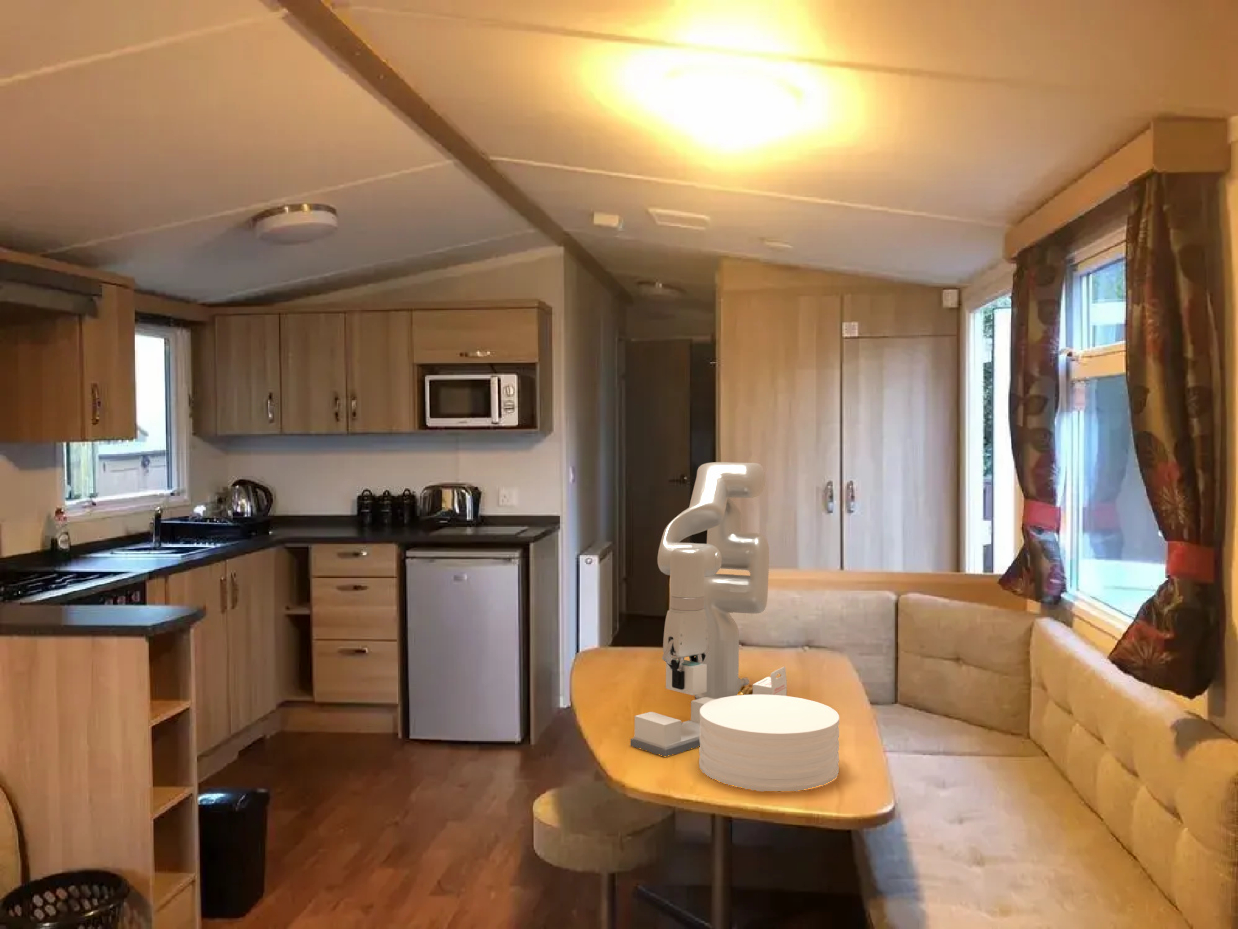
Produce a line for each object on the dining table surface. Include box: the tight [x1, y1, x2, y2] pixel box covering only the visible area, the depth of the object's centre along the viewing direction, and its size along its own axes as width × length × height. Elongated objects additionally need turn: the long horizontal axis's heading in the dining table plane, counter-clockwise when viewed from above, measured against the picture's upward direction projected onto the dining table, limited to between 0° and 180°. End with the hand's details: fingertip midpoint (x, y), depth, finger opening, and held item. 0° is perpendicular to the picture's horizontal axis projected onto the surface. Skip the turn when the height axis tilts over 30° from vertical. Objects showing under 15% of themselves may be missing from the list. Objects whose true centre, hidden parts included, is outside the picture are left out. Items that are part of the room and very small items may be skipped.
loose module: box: [665, 659, 707, 696], centre depth 225 cm, size 4×8×6 cm, turn 43°
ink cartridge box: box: [752, 665, 788, 696], centre depth 231 cm, size 9×5×15 cm, turn 148°
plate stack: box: [698, 694, 840, 792], centre depth 207 cm, size 28×28×12 cm
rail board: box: [629, 697, 715, 757], centre depth 225 cm, size 24×10×7 cm, turn 133°
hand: (686, 685), depth 225 cm, fingers closed on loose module, 4 cm apart
